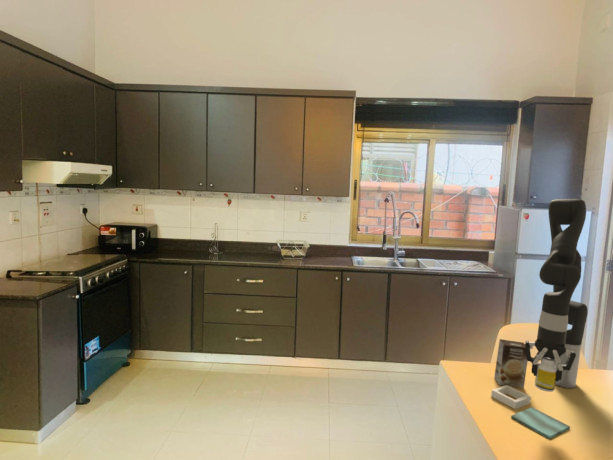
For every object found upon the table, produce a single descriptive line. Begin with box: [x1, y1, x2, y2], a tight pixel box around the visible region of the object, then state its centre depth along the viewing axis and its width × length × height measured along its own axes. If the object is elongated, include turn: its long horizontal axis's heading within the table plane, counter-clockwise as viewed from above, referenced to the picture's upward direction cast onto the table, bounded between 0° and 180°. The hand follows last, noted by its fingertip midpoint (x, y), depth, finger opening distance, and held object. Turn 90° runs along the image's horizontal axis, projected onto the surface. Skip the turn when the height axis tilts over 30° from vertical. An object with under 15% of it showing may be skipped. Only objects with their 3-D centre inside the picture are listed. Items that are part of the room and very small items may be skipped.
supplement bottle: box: [534, 357, 557, 393], centre depth 124 cm, size 5×5×10 cm
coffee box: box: [494, 338, 529, 389], centre depth 152 cm, size 9×6×16 cm
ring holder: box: [490, 385, 532, 410], centre depth 139 cm, size 9×9×2 cm
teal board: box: [510, 406, 571, 440], centre depth 126 cm, size 12×12×1 cm
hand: (545, 377), depth 124 cm, fingers closed on supplement bottle, 5 cm apart
